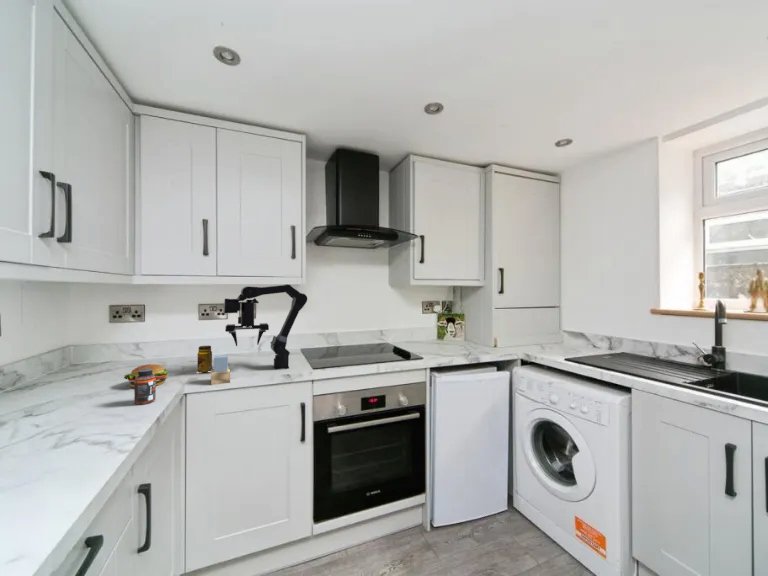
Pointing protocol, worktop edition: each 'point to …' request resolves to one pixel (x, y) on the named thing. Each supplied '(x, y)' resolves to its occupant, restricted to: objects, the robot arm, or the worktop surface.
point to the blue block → (220, 363)
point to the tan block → (220, 377)
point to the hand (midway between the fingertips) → (247, 345)
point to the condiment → (204, 359)
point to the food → (156, 369)
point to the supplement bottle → (145, 387)
